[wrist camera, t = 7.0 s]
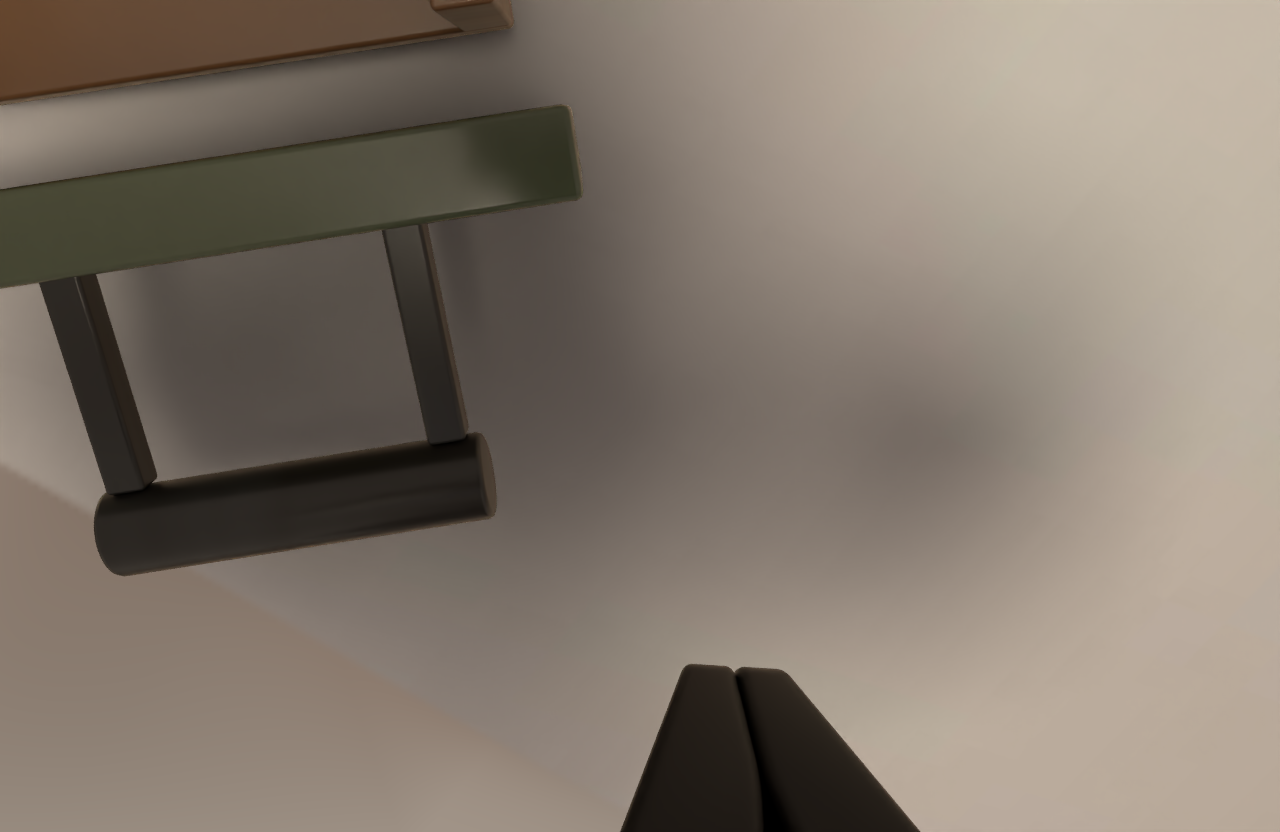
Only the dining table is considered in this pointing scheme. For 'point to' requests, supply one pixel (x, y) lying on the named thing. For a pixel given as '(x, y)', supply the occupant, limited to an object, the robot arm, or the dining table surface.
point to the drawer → (254, 219)
